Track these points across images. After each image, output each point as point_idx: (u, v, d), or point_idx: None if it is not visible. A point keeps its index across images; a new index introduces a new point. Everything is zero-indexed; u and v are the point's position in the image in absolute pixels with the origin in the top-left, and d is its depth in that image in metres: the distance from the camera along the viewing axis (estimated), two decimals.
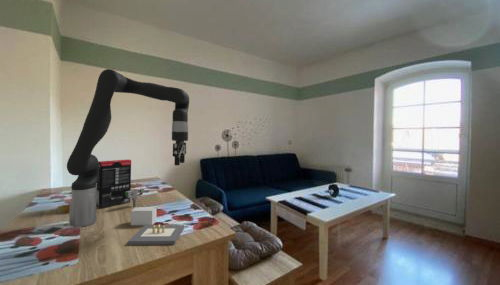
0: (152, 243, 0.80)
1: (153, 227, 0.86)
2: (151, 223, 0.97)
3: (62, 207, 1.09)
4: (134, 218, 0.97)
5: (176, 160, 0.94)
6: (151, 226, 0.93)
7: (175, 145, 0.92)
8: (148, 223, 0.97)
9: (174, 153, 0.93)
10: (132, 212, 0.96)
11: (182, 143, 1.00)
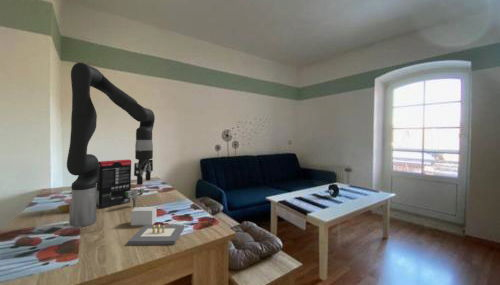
0: (152, 243, 0.80)
1: (153, 227, 0.86)
2: (151, 223, 0.97)
3: (62, 207, 1.10)
4: (134, 218, 0.97)
5: (138, 179, 0.93)
6: (151, 226, 0.93)
7: (137, 165, 0.92)
8: (148, 223, 0.97)
9: None
10: (132, 212, 0.96)
11: (146, 161, 0.99)
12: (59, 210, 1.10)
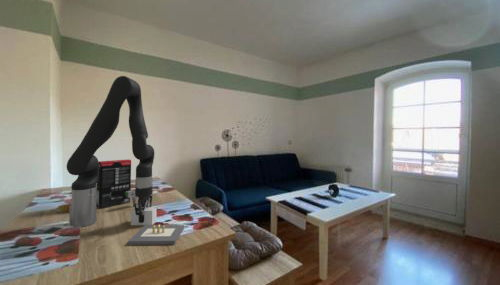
0: (152, 243, 0.80)
1: (153, 227, 0.86)
2: (151, 223, 0.97)
3: (62, 207, 1.10)
4: (134, 218, 0.97)
5: (140, 218, 0.96)
6: (151, 226, 0.93)
7: (137, 206, 0.92)
8: (148, 223, 0.97)
9: (137, 211, 0.94)
10: (132, 212, 0.96)
11: (146, 197, 0.99)
12: (59, 210, 1.10)
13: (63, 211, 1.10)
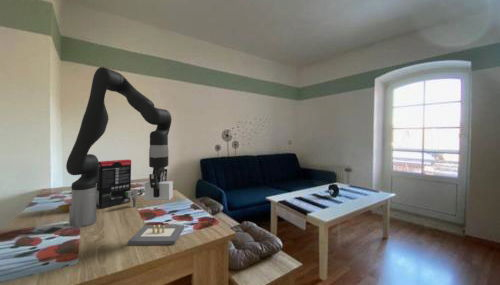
0: (152, 243, 0.80)
1: (153, 227, 0.86)
2: (168, 198, 0.85)
3: (63, 206, 1.10)
4: (149, 192, 0.84)
5: (155, 192, 0.83)
6: (151, 226, 0.93)
7: (152, 177, 0.80)
8: (164, 198, 0.85)
9: (152, 184, 0.82)
10: (146, 185, 0.84)
11: (162, 169, 0.87)
12: (59, 209, 1.11)
13: (63, 211, 1.11)
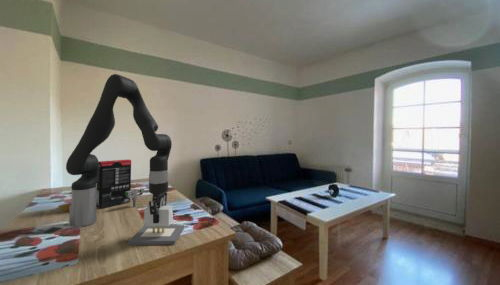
0: (152, 243, 0.80)
1: (153, 227, 0.86)
2: (167, 224, 0.85)
3: (63, 206, 1.11)
4: (148, 218, 0.84)
5: (155, 218, 0.83)
6: (151, 226, 0.93)
7: (152, 204, 0.80)
8: (164, 224, 0.85)
9: (152, 210, 0.82)
10: (146, 211, 0.84)
11: (161, 194, 0.87)
12: (60, 209, 1.11)
13: (63, 211, 1.11)
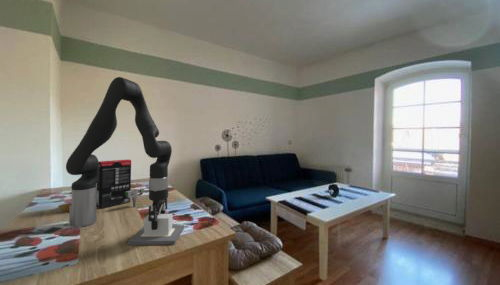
0: (152, 243, 0.80)
1: None
2: (167, 232, 0.85)
3: (63, 206, 1.11)
4: (148, 227, 0.84)
5: (153, 224, 0.82)
6: None
7: (151, 208, 0.80)
8: (164, 232, 0.85)
9: (150, 217, 0.81)
10: (145, 220, 0.84)
11: (161, 201, 0.87)
12: (60, 209, 1.11)
13: (63, 210, 1.11)
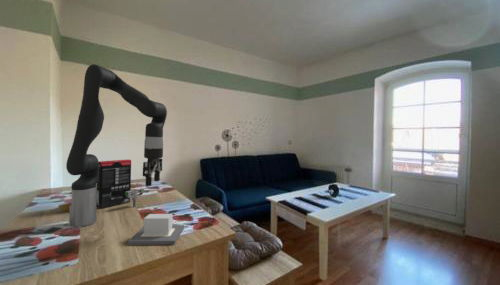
0: (152, 243, 0.80)
1: None
2: (167, 232, 0.85)
3: (63, 206, 1.11)
4: (148, 227, 0.84)
5: (147, 180, 0.85)
6: None
7: (146, 164, 0.83)
8: (164, 232, 0.85)
9: (145, 173, 0.84)
10: (145, 220, 0.84)
11: (156, 160, 0.91)
12: (60, 209, 1.11)
13: (63, 210, 1.11)
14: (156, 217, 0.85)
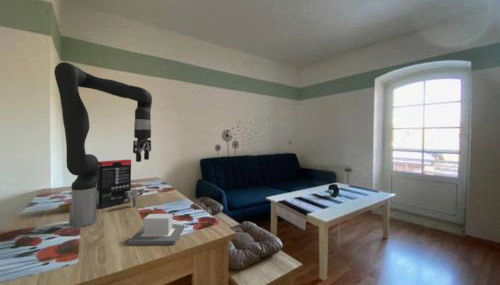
0: (152, 243, 0.80)
1: None
2: (167, 232, 0.85)
3: (63, 206, 1.11)
4: (148, 227, 0.84)
5: (137, 157, 0.98)
6: None
7: (135, 142, 0.96)
8: (164, 232, 0.85)
9: None
10: (145, 220, 0.84)
11: (145, 140, 1.03)
12: (60, 209, 1.12)
13: (64, 210, 1.12)
14: (156, 217, 0.85)
